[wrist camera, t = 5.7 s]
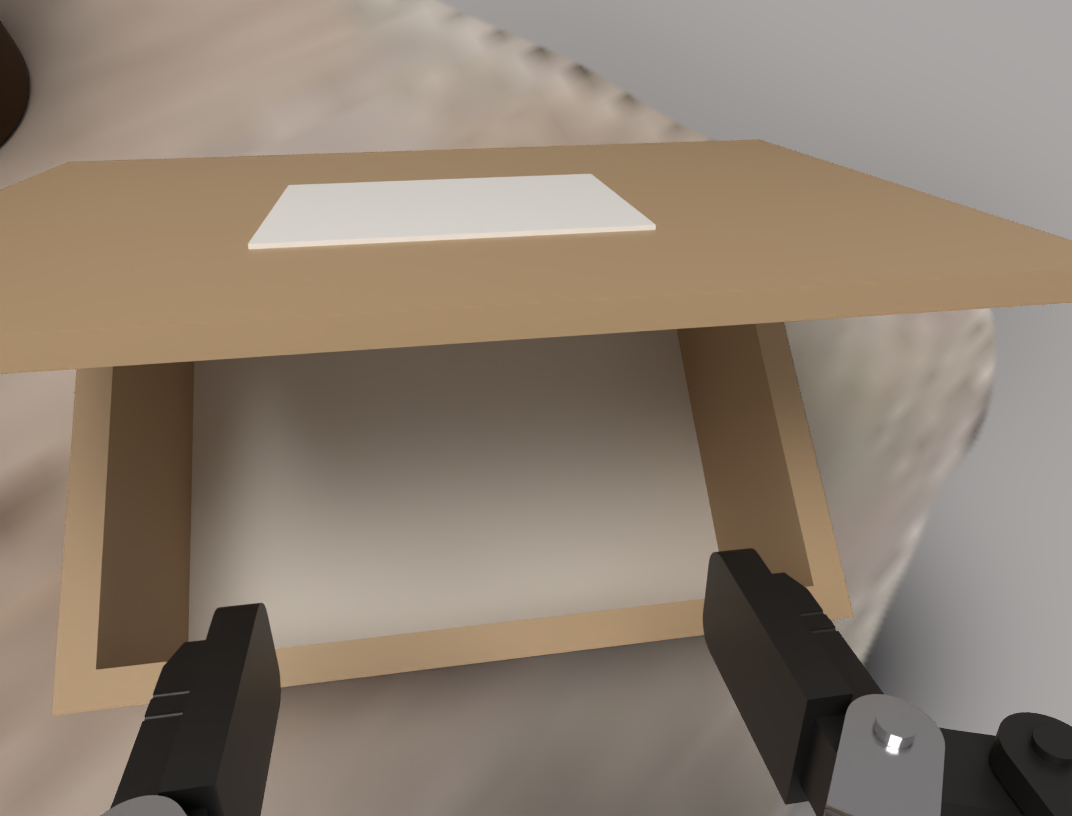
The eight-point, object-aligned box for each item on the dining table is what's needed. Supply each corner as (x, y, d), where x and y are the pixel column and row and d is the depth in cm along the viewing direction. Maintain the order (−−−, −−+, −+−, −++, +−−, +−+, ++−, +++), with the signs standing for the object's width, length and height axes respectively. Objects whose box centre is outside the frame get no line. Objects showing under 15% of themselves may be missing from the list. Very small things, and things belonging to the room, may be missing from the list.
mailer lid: (1135, 298, 13) (1149, 259, 13) (-378, 399, 10) (-406, 351, 10) (758, 157, 28) (760, 136, 27) (73, 181, 24) (67, 158, 24)
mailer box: (752, 629, 30) (853, 616, 23) (162, 701, 27) (51, 715, 20) (681, 267, 35) (744, 157, 27) (175, 295, 32) (90, 180, 24)
